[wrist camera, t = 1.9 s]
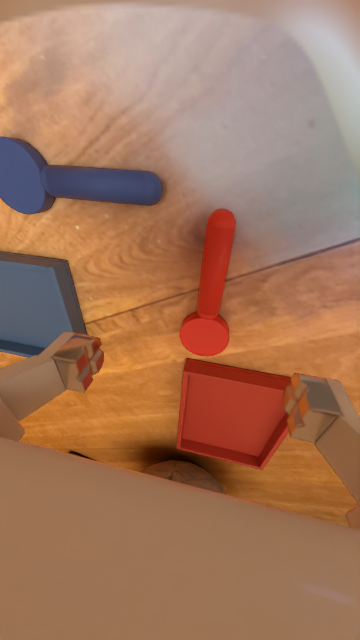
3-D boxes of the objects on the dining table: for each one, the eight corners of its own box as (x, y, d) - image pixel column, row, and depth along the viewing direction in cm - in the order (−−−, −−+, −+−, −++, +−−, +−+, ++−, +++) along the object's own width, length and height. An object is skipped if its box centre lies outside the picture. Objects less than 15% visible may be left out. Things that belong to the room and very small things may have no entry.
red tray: (308, 380, 22) (314, 396, 21) (261, 455, 33) (262, 470, 31) (186, 358, 24) (183, 371, 23) (178, 436, 35) (176, 448, 33)
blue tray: (67, 260, 20) (53, 267, 19) (93, 358, 28) (84, 369, 26) (-87, 239, 23) (-111, 244, 21) (-24, 334, 30) (-39, 343, 29)
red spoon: (190, 204, 15) (185, 207, 14) (258, 210, 15) (261, 214, 13) (180, 344, 23) (176, 357, 22) (224, 352, 23) (223, 366, 21)
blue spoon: (166, 146, 14) (157, 142, 12) (165, 225, 17) (157, 230, 15) (-14, 137, 16) (-42, 133, 14) (13, 209, 18) (-9, 213, 17)
